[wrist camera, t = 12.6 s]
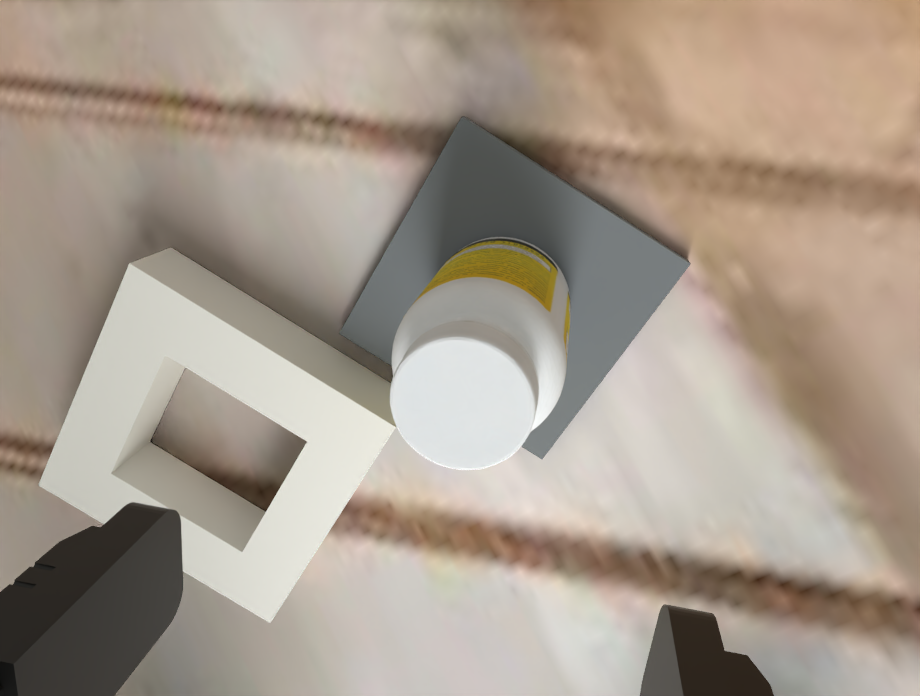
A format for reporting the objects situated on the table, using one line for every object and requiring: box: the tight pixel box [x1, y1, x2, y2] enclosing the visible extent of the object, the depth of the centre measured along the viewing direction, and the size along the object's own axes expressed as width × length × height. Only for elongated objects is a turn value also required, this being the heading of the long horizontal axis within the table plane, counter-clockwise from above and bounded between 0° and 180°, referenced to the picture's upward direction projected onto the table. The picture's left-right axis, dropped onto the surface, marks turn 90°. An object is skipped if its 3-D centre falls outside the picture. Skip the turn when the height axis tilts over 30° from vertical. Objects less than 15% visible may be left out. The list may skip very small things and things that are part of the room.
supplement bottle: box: [390, 237, 571, 470], centre depth 24 cm, size 5×5×10 cm
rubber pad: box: [339, 116, 690, 459], centre depth 28 cm, size 10×10×1 cm
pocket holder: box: [38, 248, 396, 623], centre depth 31 cm, size 12×12×3 cm
